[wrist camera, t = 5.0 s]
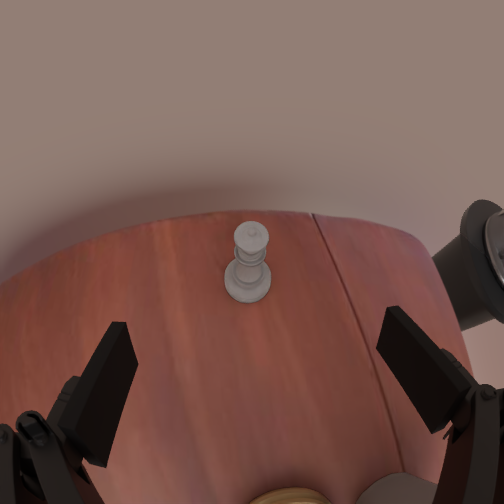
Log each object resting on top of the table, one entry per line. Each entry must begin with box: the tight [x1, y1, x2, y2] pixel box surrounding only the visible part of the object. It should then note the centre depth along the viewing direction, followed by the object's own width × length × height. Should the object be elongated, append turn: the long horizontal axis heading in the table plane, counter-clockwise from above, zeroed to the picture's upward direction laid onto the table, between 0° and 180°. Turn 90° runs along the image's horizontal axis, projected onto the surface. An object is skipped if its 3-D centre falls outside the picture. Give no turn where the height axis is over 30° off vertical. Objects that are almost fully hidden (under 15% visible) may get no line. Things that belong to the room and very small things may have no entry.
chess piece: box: [224, 221, 271, 303], centre depth 22 cm, size 4×4×10 cm
